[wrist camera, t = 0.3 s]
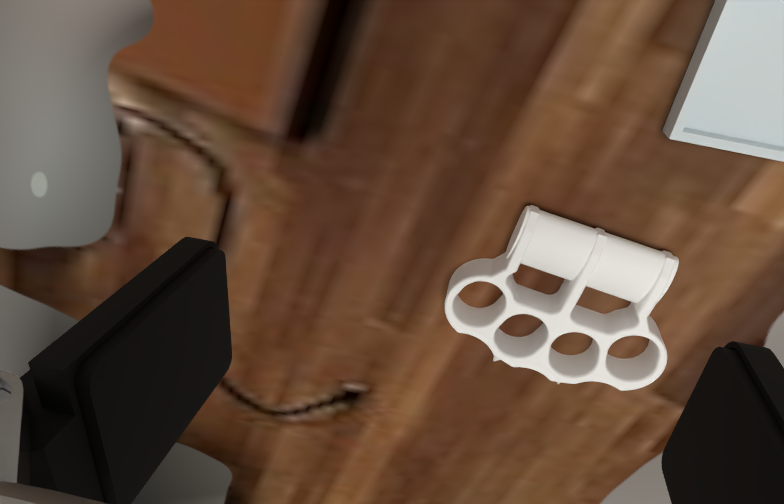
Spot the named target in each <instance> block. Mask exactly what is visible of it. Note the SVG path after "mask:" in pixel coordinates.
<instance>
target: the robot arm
mask: <svg viewBox="0 0 784 504" xmlns="http://www.w3.org/2000/svg"><path fill="white" fill-rule="evenodd" d="M231 359H232V346H231V332H230V317H229V303H228V288H227V274H226V259H225V254H224V252H223V251H222V250H218V246H217V244H216V243H215V242H212V241H207V240H202V239H197V238H192V237H185V238H183V239H181V240H180V241H179V242H178V243H176V244H175V245H174V246H173V247H171V248H170V249H169V250H168V251H166V252H165V253H164V254H163V255H161V256H160V257H159V258H158V259H157V260H155V261H154V262H153V263H152V264H150V265H149V266H148V267H147V268H145V269H144V270H143V271H142V272H140V273H139V274H138V275H137V276H135V277H134V278H133V279H132V280H130V281H129V282H128V283H127V284H125V285H124V286H123V287H122V288H120V289H119V290H118V291H117V292H115V293H114V294H113V295H112V296H110V297H109V298H108V299H107V300H105V301H104V302H103V303H102V304H100V305H99V306H98V307H97V308H95V309H94V310H93V311H92V312H90V313H89V314H88V315H87V316H85V317H84V318H83V319H82V320H80V321H79V322H78V323H77V324H76V325H74V326H73V327H72V328H71V329H69V330H68V331H67V332H66V333H65V334H63V335H62V336H61V337H59V338H58V339H57V340H56V341H54V342H53V343H52V344H51V345H49V346H48V347H47V348H46V349H45V350H43V351H42V352H41V353H39V354H38V355H37V356H36V357H34V358H33V359H32V360H31V361H29V363H28V364H29V367H30V370H29V371H28V372H27V373H25V374H24V375H23V376H22V377H21V378H18V377H17V376H16V375H15V374H13V373H10V372H7V371H4V370H0V504H131V503H132V502H133V501H134V499H135V498H136V496H137V495H138V494H139V492H140V491H141V489H142V488H143V487H144V485H145V484H146V482H147V481H148V480H149V478H150V477H151V476H152V474H153V473H154V472H155V470H156V469H157V467H158V466H159V465H160V463H161V462H162V461H163V459H164V458H165V456H166V455H167V454H168V452H169V451H170V449H171V448H172V446H173V445H174V444H175V443H176V441H177V440H178V438H179V437H180V436H181V434H182V433H183V432H184V430H185V429H186V427H187V426H188V425H189V423H190V422H191V421H192V419H193V418H194V416H195V415H196V414H197V412H198V411H199V409H200V408H201V407H202V405H203V404H204V403H205V401H206V400H207V398H208V397H209V396H210V394H211V393H212V392H213V390H214V389H215V387H216V386H217V385H218V383H219V382H220V381H221V379H222V378H223V376H224V375H225V374H226V372H227V370H228V369H229V366H230V363H231ZM662 470H663V474H664V478H665V482H666V485H667V489H668V492H669V495H670V499H671V502H672V504H784V368H783V366H782V365H781V363H780V362H779V360H778V359H777V357H776V356H775V355H774V353H773V352H772V351H771V350H770V349H768V348H765V347H760V346H755V345H750V344H744V343H739V342H734V341H733V342H729V343H728V344H727V345H725V347H724V348H722V347H717V348H716V349H715V350H714V351H713V352H712V354H711V356H710V358H709V360H708V362H707V364H706V366H705V368H704V370H703V372H702V374H701V376H700V378H699V380H698V382H697V384H696V386H695V388H694V390H693V392H692V394H691V396H690V398H689V400H688V402H687V404H686V406H685V408H684V410H683V412H682V414H681V416H680V418H679V420H678V422H677V424H676V426H675V428H674V430H673V432H672V435H671V437H670V439H669V441H668V443H667V445H666V447H665V449H664V451H663V455H662Z"/></svg>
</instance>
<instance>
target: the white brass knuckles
mask: <svg viewBox="0 0 784 504" xmlns="http://www.w3.org/2000/svg"><path fill="white" fill-rule="evenodd" d="M520 263H522V264H524V265H527V266H530V267H533V268H536V269H539V270H542V271H545V272H547V273H550V274H553V275H556V276H559V277H562V278H565V279H564V281H563V283H562V285H561V287H560V289H559V290H558V291H557V292H556V293H555V294H552V295H547V294H544V293H541V292H538V291H535V290H532V289H529V288H526V287H524V286H521V285H518V284H517V283H516V282H515V281H514V278H513V275H512V274H513V273H514V272H516V271H517V269H518V267H519V265H520ZM678 264H679V259H678V257H676V256H673V255H672V253H671V252H668V251H665V250H663V251H659V250H656V249H653V248H650V247H647V246H644V245H641V244H638V243H635V242H632V241H629V240H627V239H624V238H621V237H618V236H615V235H612V234H609V233H606V232H605V230H603V229H600V228H595V229H594V228H592V227H589V226H586V225H583V224H580V223H577V222H574V221H571V220H568V219H565V218H562V217H559V216H556V215H554V214H551V213H548V212H545V211H542V210H539V208H538V207H536V206H533V205H530V206H526V207H525V208H524V210H523V212H522V214H521V216H520V218H519V220H518V222H517V224H516V227H515V229H514V231H513V233H512V236H511V238H510V241H509V244H508V247H507V250H506V252H505V253H503V254H501V255H500V256H498V257H496V258H494V259H488V258H482V259H475V260H471V261H469V262H466V263H464V264H463V265H461V266H460V267H459V268H458V269H457V270H456V271H455V272H454V273H453V275H452V276H451V279H450V281H449V285H448V290H447V294H446V299H445V313H446V317H447V319H448V321H449V323H450V324H451V326H452V327H453V328H454V329H455V330H456V331H457V332H458V333H465V334H469V335H472V336H475V337H477V338H479V339H480V340H482V341H483V342H484V343H486V344H487V345H488V347H489V348H490V349H491V351H492V353H493V355H494V358H493V361H497V360H502V361H504V362H505V363H507V364H509V365H510V366H512V367H524V368H530V369H533V370H536V371H538V372H540V373H542V374H543V375H545V376H546V377H547V378H548V379H549V380H550V381H556V382H557V384H560V383H561V382H563V383H570V384H576V383H580V382H586V381H596V382H603V383H607V384H609V385H612V386H614V387H616V388H617V389H619V390H634V389H638V388H641V387H644V386H646V385H648V384H650V383H652V382H653V381H655V380H656V379H657V378H658V377H659V376H660V375H661V374H662V372H663V371H664V369H665V366H666V363H667V351H666V347H665V345H664V342H663V340H662V337H661V335H660V332H659V329H658V327H657V325H656V323H655V321H654V320H653V319H652V318H651V317H650V316H649V314H650V312H651V311H652V309H653V308H654V306H655V305H656V303H657V302H658V301H659V300H660V299H661V298H662V297H663V295H664V294H665V293H666V291H667V290H668V288H669V286H670V284H671V282H672V280H673V278H674V276H675V274H676V271H677V268H678ZM476 281H485V282H489V283H492V284H494V285H496V286H497V287H499V288H500V289H501V290H502V292H503V294H502V296H501V297H500V298H499V299H498V300H497V301H496V302H495V303H494V304H492V305H490V306H488V307H484V308H475V307H471V306H469V305H467V304H465V303H464V302H463V301H462V300H461V299H460V298H459V296H458V293H459V292H460V291H461V290H462V289H463V288H464V287H465V286H466V285H468V284H470V283H472V282H476ZM586 286H588V287H591V288H594V289H596V290H599V291H602V292H605V293H608V294H611V295H614V296H617V297H619V298H622V299H625V300H628V301H631V303H630V305H629V306H628V307H626V308H623V309H618V310H614V311H612V312H610V313H607V314H601V313H598V312H595V311H592V310H589V309H586V308H584V307H581V306H578V305H576V303H577V301H578V299H579V297H580V296H581V294H582V292H583V290H584V288H585V287H586ZM516 314H530V315H533V316H535V317H537V318H539V319H540V320H542V321H543V324H542V325H541V326H540V327H539V328H538V329H536V330H535V331H534V332H533V333H532V334H530V335H527V336H524V337H513V336H510V335H507V334H505V333H504V332H502V331H501V330H500V329H499V326H500V325H501V324H502V323H503V322H504V321H505V320H506V319H507V318H509V317H511V316H513V315H516ZM569 332H580V333H584V334H587V335H589V336H590V337H592V338H593V341H592V344H591V346H590V347H589V348H588V349H587V350H586V351H584V352H583V353H580V354H577V355H564V354H560V353H558V352H556V351H555V350H554V349H552V348H551V344H552V342H553V341H554V340H555V339H556V338H557V337H558V336H560V335H562V334H565V333H569ZM631 335H638V336H643V337H646V338H648V339H649V343H648V346H647V348H646V349H645V351H644V352H643V353H641V354H640V355H638V356H636V357H633V358H628V359H620V358H616V357H613V356H611V355H609V354H608V353H607V352H608V349H609V347H610V346H611V344H612V343H613V342H615V341H616V340H618V339H620V338H622V337H625V336H631Z"/></svg>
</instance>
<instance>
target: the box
mask: <svg viewBox="0 0 784 504" xmlns="http://www.w3.org/2000/svg"><path fill="white" fill-rule="evenodd" d="M662 131H663V132H664V134H665V135H666V136H667V137H668V138H669V139H673V140H678V141H683V142H688V143H693V144H698V145H703V146H708V147H713V148H718V149H723V150H728V151H733V152H738V153H743V154H748V155H753V156H758V157H763V158H768V159H773V160H778V161H783V162H784V0H715V2H714V5H713V7H712V9H711V12H710V14H709V17H708V19H707V22H706V24H705V27H704V29H703V32H702V34H701V36H700V39H699V41H698V44H697V46H696V49H695V51H694V54H693V56H692V58H691V61H690V63H689V66H688V68H687V71H686V73H685V76H684V78H683V80H682V83H681V85H680V88H679V90H678V93H677V95H676V98H675V100H674V102H673V105H672V107H671V110H670V112H669V115H668V117H667V120H666V122H665V125H664V127H663V129H662Z"/></svg>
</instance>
